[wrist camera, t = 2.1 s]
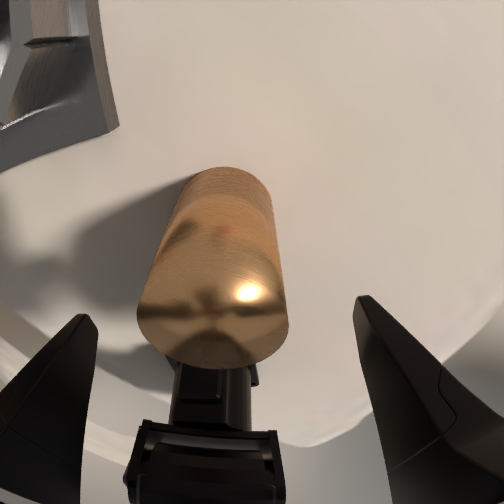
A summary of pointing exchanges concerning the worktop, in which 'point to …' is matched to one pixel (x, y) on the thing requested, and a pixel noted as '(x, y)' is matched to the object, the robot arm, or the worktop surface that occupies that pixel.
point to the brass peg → (217, 276)
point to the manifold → (51, 77)
